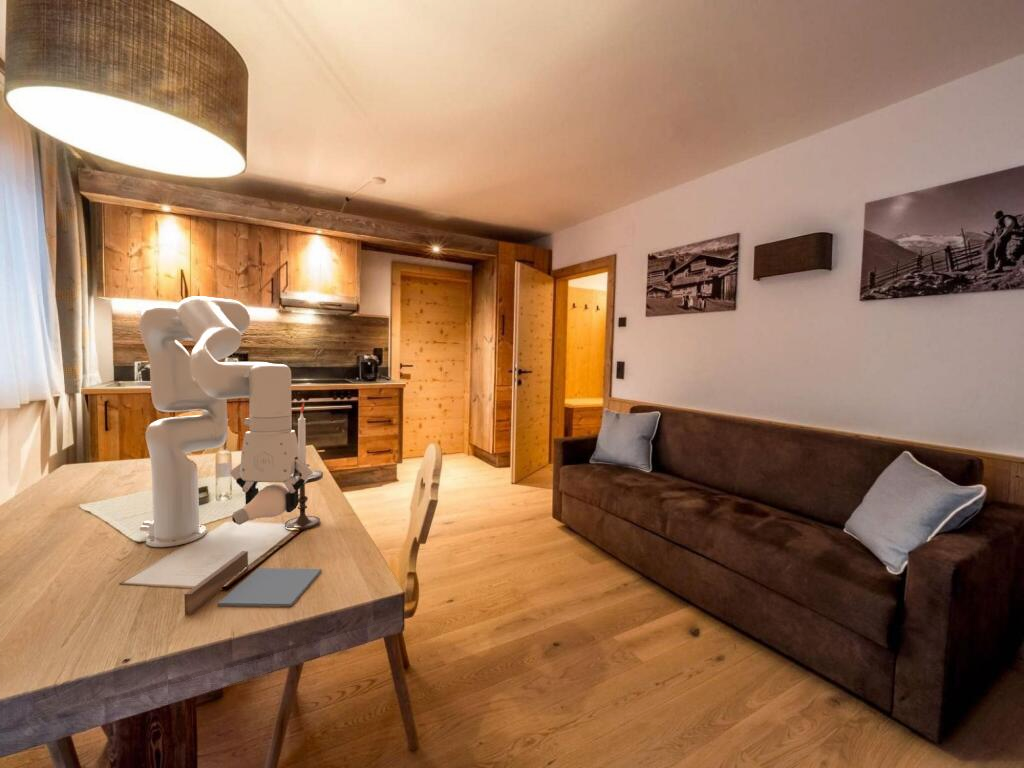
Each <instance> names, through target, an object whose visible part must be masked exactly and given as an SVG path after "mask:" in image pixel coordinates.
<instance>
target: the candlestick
mask: <svg viewBox="0 0 1024 768" xmlns="http://www.w3.org/2000/svg"><path fill="white" fill-rule="evenodd" d="M304 410H305V403H302V405H301V407H300V415H299V418H298V419H297V421H298V422H297V442H298V449H299V459H300V462H301V463H303V464H304V465H305V466H307V467H308V468H309V467H310V466H311V465H310V464H308V463H307V460H306V459H307V458H306V457H307V456H306V455H307V454H306V453H307V452H306V451H307V450H306V446H307V444H306V443H307V442H306V439H307V438H306V431H307V430H306V417H305V416H304V414H303V413H304ZM304 417H305V418H304ZM311 470H312V471H313V474H312V475H311V476H310V478H309V479H308V480H307V482H306V483H305V484H304V485H303V486H302V487H301V488H300V489H299V496H298V504H299V505H298V506H297V509H298V510H299V516H297V517H293V518H289V519H288V520H287V521H285V523H284V528H285V527H287V528H298V529H299V530H301V531H300V532H302V531H307V530H310V529H314V528H317V527H318V526H319V525H321V519H320V517H319V516H314V515H306V509H308V506H307V505H306V502H307V501H308V500H309V497H308V496H307V495H306V484H308V483H313V482H317V481H320V480H322V479H323V478H324V472H323V471H321V470H316V469H311ZM301 477H302V474H301V473H300V472H299V474H298V475H297V476H296V478H297V480H299V479H300V478H301ZM282 483H283V484H284V482H282ZM294 526H301V527H294Z"/></svg>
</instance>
